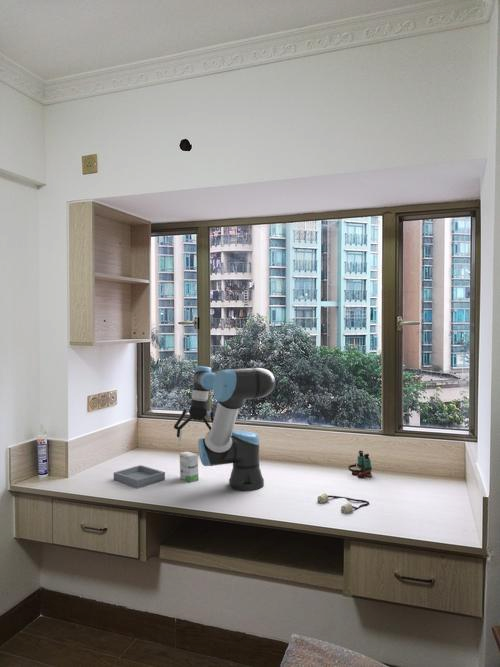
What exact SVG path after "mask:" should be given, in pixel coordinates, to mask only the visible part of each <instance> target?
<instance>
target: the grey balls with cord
mask: <svg viewBox="0 0 500 667" xmlns="http://www.w3.org/2000/svg"><path fill="white" fill-rule="evenodd" d="M329 498H333V499H334V498H335V499H346V500H348V501H353V502H360V503H363V504H360V505H359V506H358V507H356V506H354V505H353V504H351V503H350V502H347V503H345V504H343V505H341V507H340V512H341V513H344V514H348V513H350V512H353V510H359V509H361V508H362V507H365V506H369V505H370V502H369V501H368V500H364V499H355V498H351V497H345V496H340V495H339V496H338V495H328V494H327V493H322V494H319V495H318V496H317V500H316V501H317V503H321V504H325V503H326V502H329Z"/></svg>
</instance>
